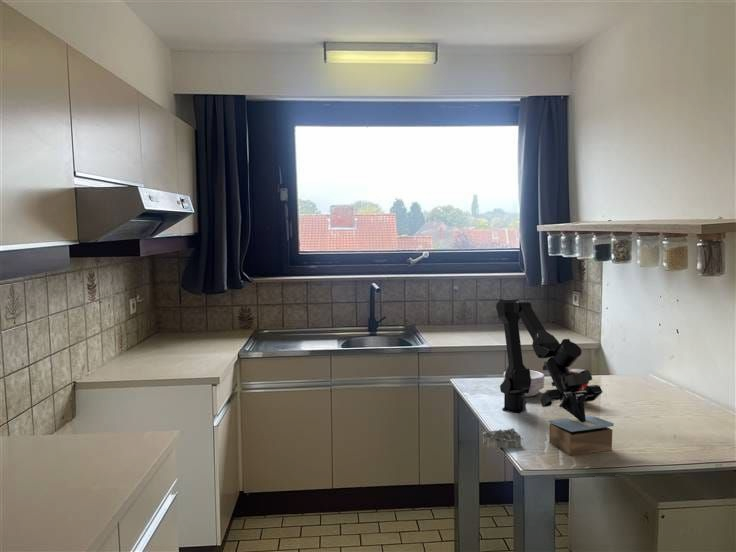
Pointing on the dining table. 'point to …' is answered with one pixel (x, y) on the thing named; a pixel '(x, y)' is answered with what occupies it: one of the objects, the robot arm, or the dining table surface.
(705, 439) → the dining table surface
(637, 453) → the dining table surface
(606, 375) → the dining table surface
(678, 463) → the dining table surface
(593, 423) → the box lid
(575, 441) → the walnut box
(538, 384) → the paper bowls
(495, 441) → the egg carton
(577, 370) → the soda can
